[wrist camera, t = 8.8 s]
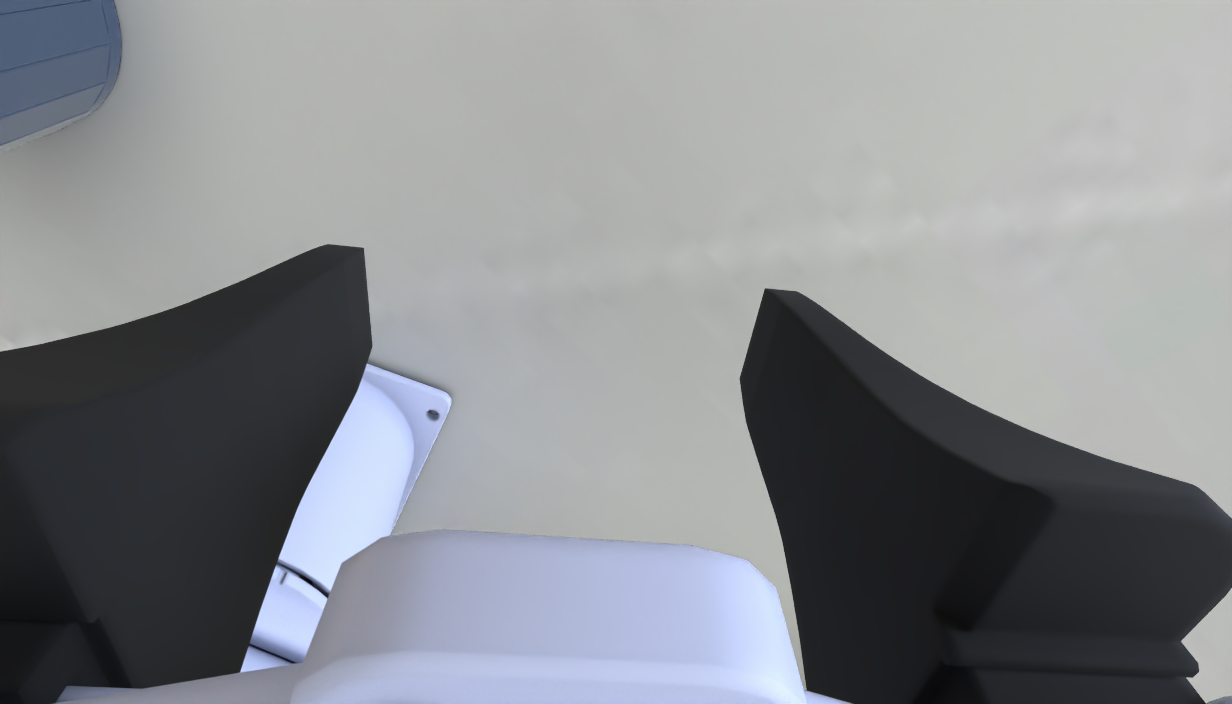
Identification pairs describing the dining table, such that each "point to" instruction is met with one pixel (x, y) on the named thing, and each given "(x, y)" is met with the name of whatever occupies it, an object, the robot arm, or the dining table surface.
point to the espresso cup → (54, 64)
